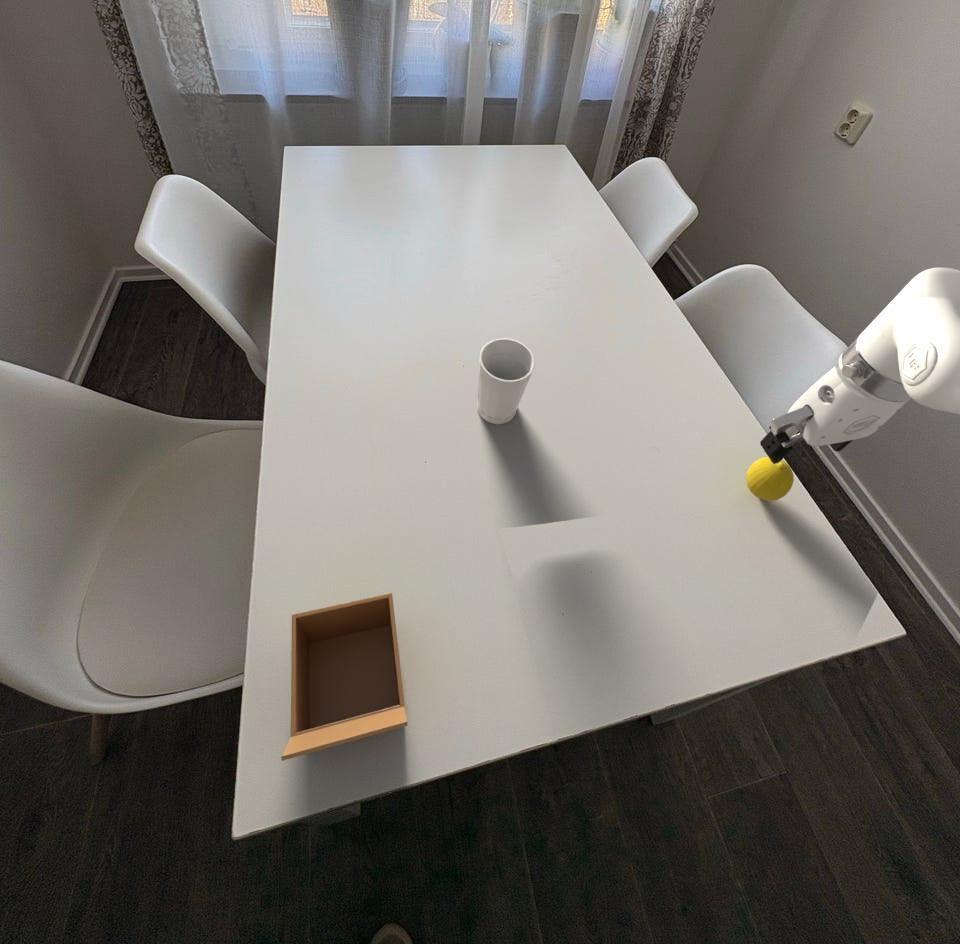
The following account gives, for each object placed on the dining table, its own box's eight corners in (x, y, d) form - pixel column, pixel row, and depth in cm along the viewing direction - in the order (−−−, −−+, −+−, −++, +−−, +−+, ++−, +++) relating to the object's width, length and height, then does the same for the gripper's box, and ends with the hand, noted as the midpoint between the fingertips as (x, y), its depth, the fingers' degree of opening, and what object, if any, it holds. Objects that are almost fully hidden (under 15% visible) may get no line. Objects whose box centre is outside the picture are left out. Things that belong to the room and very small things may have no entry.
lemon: (764, 517, 75) (793, 492, 70) (729, 488, 78) (755, 462, 72) (781, 493, 78) (810, 467, 73) (747, 467, 81) (773, 439, 75)
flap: (404, 706, 47) (404, 710, 47) (290, 737, 45) (290, 741, 45) (407, 721, 43) (407, 725, 43) (281, 756, 41) (281, 761, 41)
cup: (468, 388, 86) (475, 339, 78) (515, 384, 87) (527, 336, 79) (476, 431, 80) (484, 384, 72) (526, 426, 82) (540, 379, 74)
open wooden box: (404, 725, 55) (405, 708, 48) (306, 752, 53) (290, 740, 45) (393, 621, 62) (392, 592, 54) (305, 641, 59) (291, 614, 52)
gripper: (842, 408, 53) (760, 485, 65) (971, 385, 57) (871, 462, 69) (795, 351, 58) (727, 432, 70) (917, 333, 62) (833, 413, 74)
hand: (799, 447), depth 70 cm, fingers open, 9 cm apart
